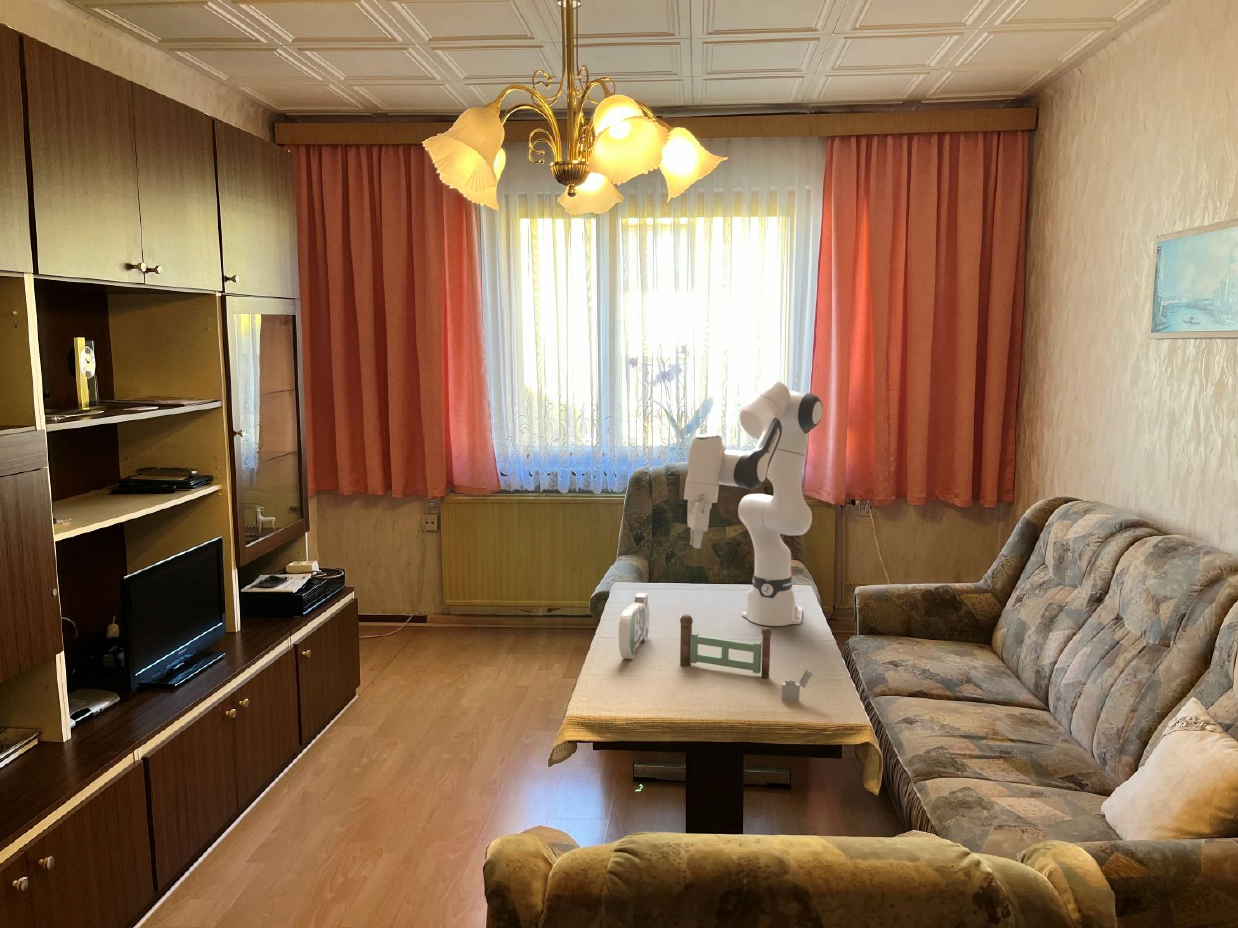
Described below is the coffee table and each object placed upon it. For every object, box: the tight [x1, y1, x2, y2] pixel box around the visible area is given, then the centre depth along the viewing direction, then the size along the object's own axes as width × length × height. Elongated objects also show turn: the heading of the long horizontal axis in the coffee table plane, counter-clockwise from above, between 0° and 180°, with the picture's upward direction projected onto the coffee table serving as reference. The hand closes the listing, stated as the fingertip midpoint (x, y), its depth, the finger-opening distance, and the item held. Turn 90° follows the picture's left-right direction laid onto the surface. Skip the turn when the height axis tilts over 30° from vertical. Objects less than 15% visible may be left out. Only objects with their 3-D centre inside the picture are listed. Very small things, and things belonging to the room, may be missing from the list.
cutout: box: [618, 592, 650, 660], centre depth 262 cm, size 15×3×25 cm
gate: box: [690, 631, 762, 675], centre depth 246 cm, size 2×19×8 cm, turn 66°
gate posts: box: [679, 614, 773, 679], centre depth 246 cm, size 3×25×14 cm, turn 66°
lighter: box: [780, 668, 813, 703], centre depth 227 cm, size 7×2×8 cm, turn 87°
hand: (695, 546), depth 245 cm, fingers open, 8 cm apart
